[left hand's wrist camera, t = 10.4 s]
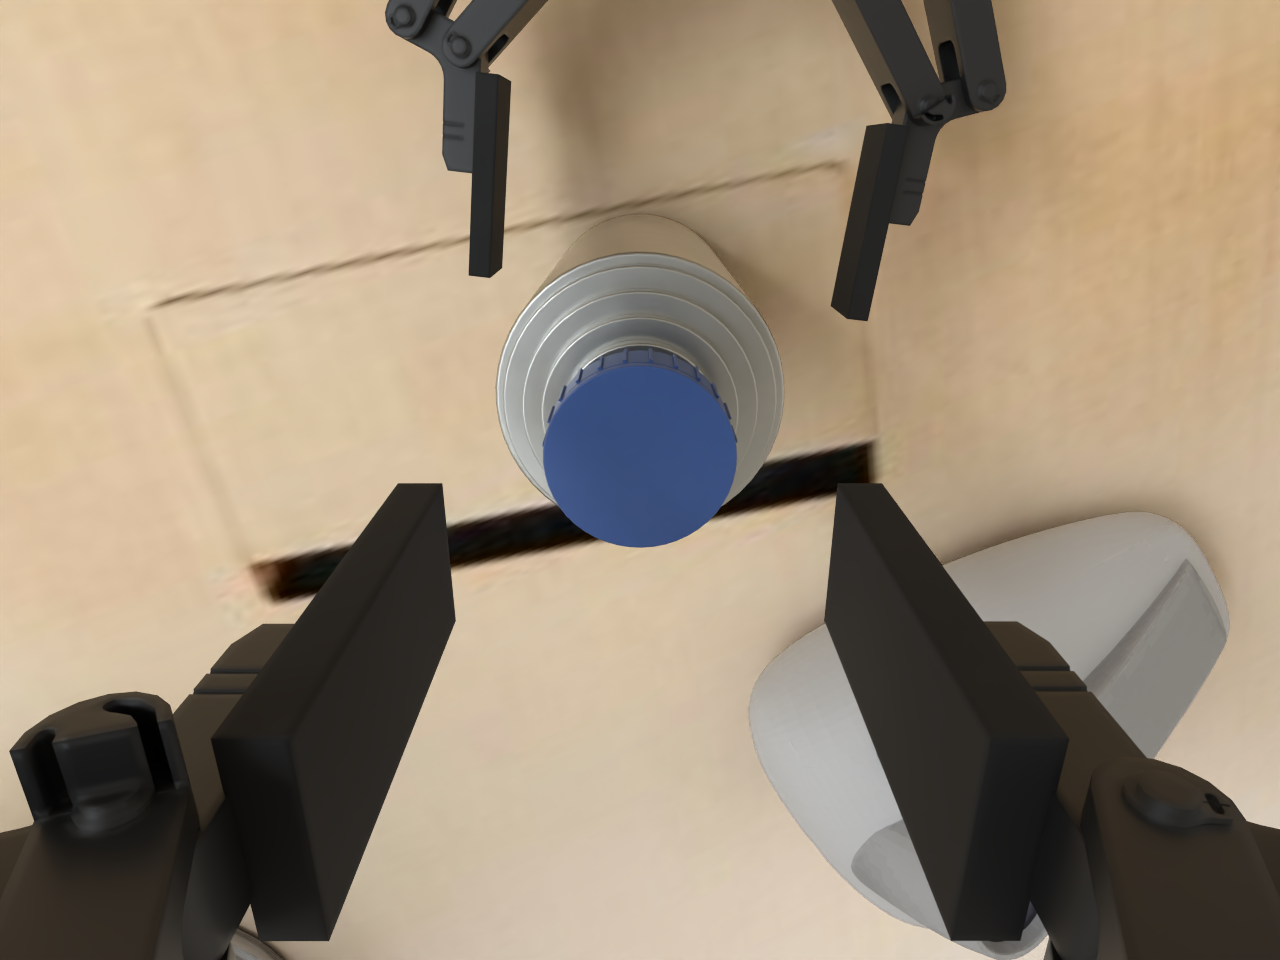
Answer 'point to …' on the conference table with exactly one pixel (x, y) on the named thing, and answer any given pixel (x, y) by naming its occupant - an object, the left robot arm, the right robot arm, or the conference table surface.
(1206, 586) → the projector
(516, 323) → the bottle
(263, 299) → the conference table surface
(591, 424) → the cap
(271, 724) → the left robot arm
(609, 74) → the conference table surface
